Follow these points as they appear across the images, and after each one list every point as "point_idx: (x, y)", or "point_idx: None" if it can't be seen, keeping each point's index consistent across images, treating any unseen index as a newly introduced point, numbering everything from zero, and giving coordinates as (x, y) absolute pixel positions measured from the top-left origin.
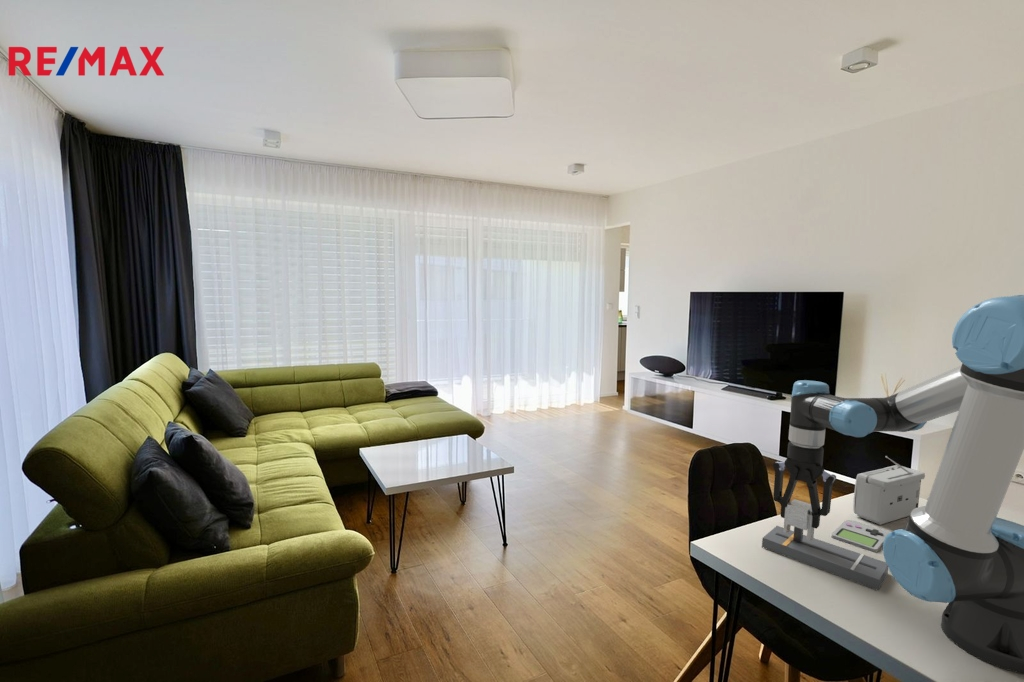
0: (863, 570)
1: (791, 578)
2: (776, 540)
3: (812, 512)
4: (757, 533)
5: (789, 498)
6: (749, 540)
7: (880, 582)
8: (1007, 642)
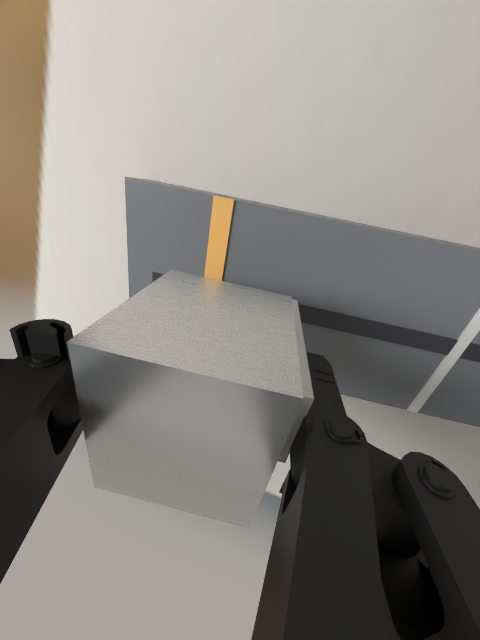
0: (455, 398)
1: None
2: None
3: (285, 484)
4: (95, 223)
5: (43, 455)
6: (104, 302)
7: None
8: None
